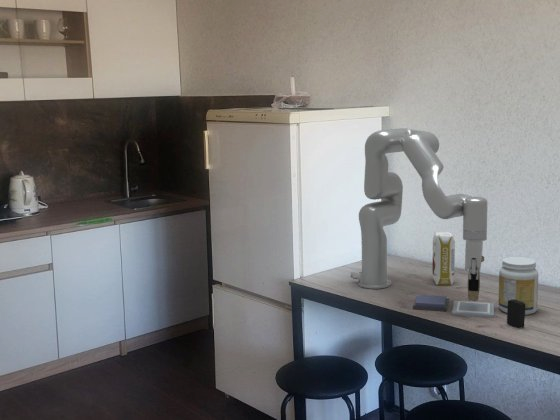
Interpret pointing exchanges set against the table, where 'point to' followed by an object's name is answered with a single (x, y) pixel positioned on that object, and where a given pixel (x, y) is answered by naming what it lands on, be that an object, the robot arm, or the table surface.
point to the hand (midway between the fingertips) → (473, 288)
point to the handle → (474, 294)
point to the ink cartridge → (516, 313)
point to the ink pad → (431, 302)
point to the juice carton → (443, 258)
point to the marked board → (473, 309)
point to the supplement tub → (518, 283)
